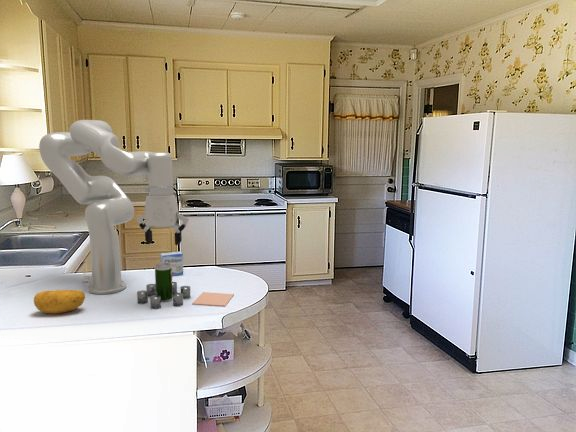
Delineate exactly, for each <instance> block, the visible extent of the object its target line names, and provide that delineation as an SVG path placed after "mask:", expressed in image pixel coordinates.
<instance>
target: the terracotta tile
mask: <svg viewBox="0 0 576 432" xmlns="http://www.w3.org/2000/svg"><path fill="white" fill-rule="evenodd" d="M234 296H235V293H225V292H224V293H223V292H222V293H221V292H209V291H207V292H206V291H203V292H201V294H200V295H198V297H197V298H196V299H195V300H194V301H193V302H192V303H191V304H192V305H195V306H209V307H212V306H213V307H227V305H228V304H229V303H230V301H231V300H232V298H233V297H234Z"/></svg>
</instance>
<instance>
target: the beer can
mask: <svg viewBox="0 0 576 432" xmlns="http://www.w3.org/2000/svg"><path fill="white" fill-rule="evenodd" d="M154 278H155V279H154V280H155V281H154V282H155V283H154V284H155V285H156V295H159V296H161V303H169V302H171V301H173V290H172V282H173V276H172V267H171V264H169V263H160V262H159V263H156V264H155V268H154Z"/></svg>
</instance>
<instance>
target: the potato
mask: <svg viewBox="0 0 576 432" xmlns="http://www.w3.org/2000/svg"><path fill="white" fill-rule="evenodd" d="M85 300H86V295H85V292H84V291H83V290H80V289H79V290H78V289H55V290H43V291H39V292H38V293H36V294H35V295H34V297H33V303H34V306H35V307H36V309H37V310H38V311H40V312H42V313H45V314H52V315H53V314H62V313H67V312H72V311H74V310H77V309H78V308H79V307H81V306H82V305H83V303H84V301H85Z"/></svg>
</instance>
